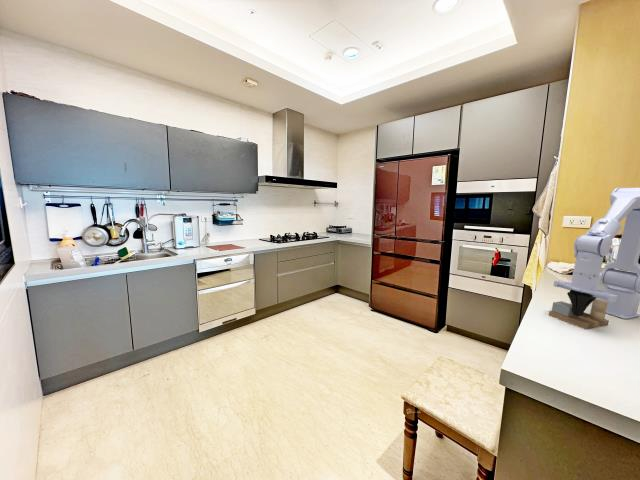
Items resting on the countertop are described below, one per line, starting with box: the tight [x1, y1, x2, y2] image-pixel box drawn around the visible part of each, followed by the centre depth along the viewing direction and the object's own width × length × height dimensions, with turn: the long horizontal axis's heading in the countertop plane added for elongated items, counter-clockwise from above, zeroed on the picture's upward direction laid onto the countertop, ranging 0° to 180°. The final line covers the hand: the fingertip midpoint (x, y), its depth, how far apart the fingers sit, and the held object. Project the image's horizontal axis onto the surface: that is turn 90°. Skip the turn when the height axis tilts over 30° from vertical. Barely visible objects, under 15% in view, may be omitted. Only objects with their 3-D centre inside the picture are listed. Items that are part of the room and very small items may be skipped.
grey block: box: [551, 300, 575, 317], centre depth 85 cm, size 4×4×3 cm
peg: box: [589, 299, 608, 321], centre depth 81 cm, size 3×3×6 cm
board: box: [548, 309, 610, 330], centre depth 84 cm, size 11×10×2 cm
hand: (577, 315), depth 82 cm, fingers closed
